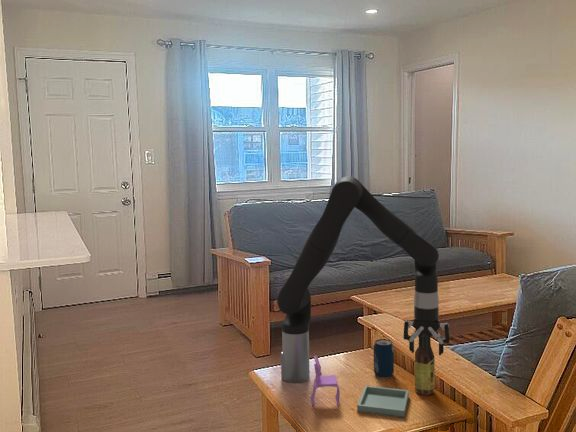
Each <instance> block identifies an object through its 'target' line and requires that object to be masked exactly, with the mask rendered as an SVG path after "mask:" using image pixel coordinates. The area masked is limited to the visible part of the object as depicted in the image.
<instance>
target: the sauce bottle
mask: <svg viewBox="0 0 576 432" xmlns="http://www.w3.org/2000/svg"><path fill="white" fill-rule="evenodd" d="M417 337H418V346H417V348H416V349H415V351H414V390H415V393H417V394H419V395H421V396H423V395H424V396H430V395H432V394H434V392H435V369H436V367H435V354H434V351H433V349H432V346H431V337H432V336H427V335H425V334H422V335H420V334H419V335H418V336H417Z"/></svg>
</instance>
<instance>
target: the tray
mask: <svg viewBox="0 0 576 432" xmlns="http://www.w3.org/2000/svg"><path fill="white" fill-rule="evenodd" d="M409 391H410V390H407V389H401V388H400V389H399V388H390V387H379V386H370V385H364V388H363V390H362V393H361V396H360V397H359V399H358V403H357V404H356V405H357V406H356V412H357V413H362V414H363V413H364V414H369V415H376V416H386V417H396V418H402V419H405V417H406V412H407V407H408V402H409V397H410V396H409V395H410V392H409Z"/></svg>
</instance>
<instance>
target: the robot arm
mask: <svg viewBox="0 0 576 432" xmlns="http://www.w3.org/2000/svg"><path fill="white" fill-rule="evenodd" d="M354 209H357V210H359V211H360V212H361V213H362V214H364V216H366V217H367V218H368V219H369V220H370V221H371V222H372V223H373V225H375V227H376V228H377V229H378V230H379V231H380V233H382V234H383V235H384V236H385V237H386V238H388V239H389V240H390V241H392V242H393V243H394V244H396V246H398V247H399V248H401V249H403V250H404V251H405V252H406V253H407V254H408V256H410V257H411V258H412V259H413V260H414V271H415V272H414V273H415V274H414V275H415V277H414V297H413V298H414V299H413V300H414V301H413V302H414V303H413V308H414V309H413V310H414V311H413V315H414V316H413V318H414V319H413V321H412V320H409V319H405V320H404V322H403V323H404V325H403V339H404V340H405V341H408V343H409V345H408V348H409V351H410V352H411V354H415V339H416V338H417V337H418V335H419V334H420V335H422V334H425V335H427V336H431V337H432V336H433V337H434V339H435V340H437V342H438V356H442V354H443V355H444V344H449V343H450V341H451V340H450V337H451V336H450V325H449V324H450V323H449V322H447V321H446V322H444V323H442V322H441V323H440V320H439V319H440V318H439V314H440V313H439V303H440V302H439V301H440V300H439V291H438V290H439V289H438V288H439V283H438V282H439V281H438V280H439V279H438V275H437V262H438V260H439V255H440V254H439V251H438V248H436V246H435V244H433V243H432V242H431V241H428V240H426V239H424V238H423V237H422V236H420V235H419V234H417V232H416V231H415V230H414V229H413V228H412V227H411V226H410V225H408V224H407V223H406V222H404V220H402V219H401V218H400V217H398V216H397V215H396V214H395V213H393V212H391V210H389V209H388V208H387V207H386V206H385V205H383V204H382V203H381V202H380V201H379V200H378V199H377V198H376V197H375V196H374V195H372V194H371V192H370V191H369V190H368V189H367V188H366V187H365V185H363V184H362V182H361V181H360V180H358V179H357V177H355V176H351V175H347V176H346V175H345V176H342V177H341V178H339V179H338V180H337V181H336V183H334V184H333V187H332V189H331V192H330V195H329V199H328V200H327V203H326V205H325V208H324V212H322V214H321V217H320V218H319V220H318V221H317V223H316V224H315V226H314V227H313V229H312V231H311V233H310V234H309V235H308V238H307V239H306V242H305V244H304V246H303V248H302V250H301V253H300V255H299V256H298V259H297V260H296V263H295V265H294V267H293V270H292V271H291V273H290V275H289V277H288V278H287V280H286V281H285V283H284V285H282V287H281V289H280V291H279V292H278V293H277V298H276V303H277V304H276V305H277V307H278V310H280V312H282V313H283V314H285V317H284V319H283V321H282V323H281V335H282V336H281V339H282V345H281V346H282V351H281V353H280V370H281V371H280V372H281V373H280V375H281V380H284V381H286V382H288V383H293V384H296V383H297V384H298V383H304V382H307V381H309V380H310V377H311V376H310V337H309V336H310V332H309V330H310V329H309V328H310V327H309V326H310V323H311V315H312V312H311V311H312V300H311V299H312V297H311V292H310V290H309V289H308V288H309V286H310V284H311V283H312V282H313V281H314V279H316V277H317V276H318V275H319V274H320V272H321V271H322V270H323V268H325V267H326V264H327V263H328V261H329V259H330V258H331V256H332V254H333V252H334V250H335V248H336V246H337V244H338V241H339V238H340V235H341V231H342V229H343V226H344V224H345V222H346V221H347V219H348V218H349V216H350V214H351V213H352V211H353V210H354ZM411 326H413V328H414V331H413V333H412V334H411V335H409V329H410V328H411ZM440 328H441V331H444V337H443V336H442V335H441V334H440V332H439V331H438V330H439V329H440Z"/></svg>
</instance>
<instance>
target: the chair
mask: <svg viewBox="0 0 576 432" xmlns="http://www.w3.org/2000/svg"><path fill="white" fill-rule="evenodd" d="M313 359H314V361H315V363H314V365H313V366H314V373H315V375H314V376H315V378H314V380H313V385H312V386H313V387H312V391H311V392H312V393H311V396H310V401H311V402H310V403H311V408H313V407H314V403H315V402H314V401H315V397H316V391H317V389H318V388H325V387H332V388H333V387H334V388H336V389H337V390H336V393H335V403H336V406H337V407H340V406H339V404H340V398H341V397H340V395H341V394H340V387H339V383H338V380H337V378H336V377H337V376H336V374H329V375H323V374H322V365H321V364H320V361H319V356H318V355H314V356H313Z"/></svg>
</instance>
